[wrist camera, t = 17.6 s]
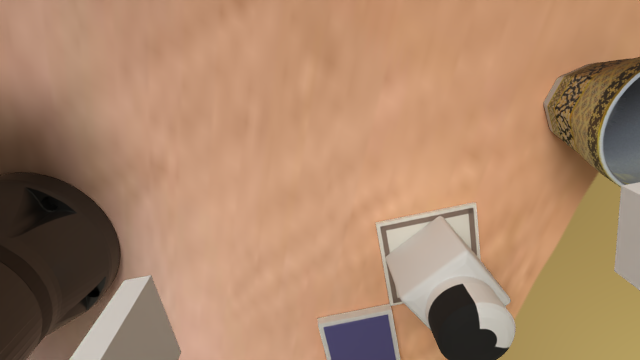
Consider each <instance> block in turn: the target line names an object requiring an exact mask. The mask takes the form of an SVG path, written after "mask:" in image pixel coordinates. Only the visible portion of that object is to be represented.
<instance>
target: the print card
mask: <svg viewBox="0 0 640 360" xmlns="http://www.w3.org/2000/svg"><path fill="white" fill-rule="evenodd" d="M438 216H442V217H443V218H444V219H445V220H446V221H447V222H448V223H449V224H450V226H451V227H452V228H453V229H454V230H455V231H456V233H457V234H458V235H459V236H460V237H461V238H462V239H463V241H464V242H465V243H466V244H467V245H468V246H469V248H470V249H471V250H472V251H473V252H474V253H475V254H476V256H477V257H478V258H479V259H480V246H479V233H478V220H477V207H476V203H475V202H472V203H467V204H463V205H458V206H453V207H448V208H443V209H438V210H434V211H429V212H424V213H419V214H414V215H409V216H404V217H400V218H395V219H390V220H385V221H380V222H375V223H376V229H377V234H378V240H379V246H380V251H381V257H382V263H383V268H384V274H385V280H386V285H387V291H388V297H389V302H390V306H393V305H398V304H403V302H402V301H401V299H400V297H399V294H398V291H397V289H396V286H395V283H394V280H393V278H392V275H391V272H390V270H389V267H388V264H387V262H386V256H387V255H389V254H390V253H391V252H392V251H394V250H395V249H396V248H398V247H399V246H400V245H402V244H403V243H404V242H406V241H407V240H408V239H409V238H411V237H412V236H413V235H415V234H416V233H417V232H419V231H420V230H421V229H423V228H424V227H425V226H426V225H428V224H429V223H430V222H432V221H433V220H434V219H436V218H437V217H438ZM480 260H481V259H480Z"/></svg>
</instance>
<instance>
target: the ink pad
mask: <svg viewBox="0 0 640 360" xmlns="http://www.w3.org/2000/svg"><path fill="white" fill-rule="evenodd" d="M317 319H318V327H319V331H320V335H321V339H322V342H323V346H324V350H325V354H326V358H327V360H400V354H399V348H398V343H397V337H396V331H395V326H394V320H393V314H392V309H391V306H390V304H386V305H381V306H376V307H371V308H366V309H361V310H356V311H351V312H346V313H341V314H336V315H331V316H326V317H321V318H317Z"/></svg>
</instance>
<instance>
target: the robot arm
mask: <svg viewBox="0 0 640 360" xmlns="http://www.w3.org/2000/svg"><path fill="white" fill-rule="evenodd" d="M119 261H120V250H119V244H118V239H117V236H116V233H115V231H114V229H113V227H112V225H111V223H110V221H109V219H108V218H107V216H106V215H105V214H104V212H103V211H102V210H101V209H100V208H99V207H98V206H97V205H96V204H95V203H94V202H93V201H92V200H91V199H90V198H89V197H88V196H86V195H85V194H84V193H82V192H81V191H79V190H78V189H76V188H74V187H73V186H71V185H69V184H67V183H65V182H62V181H60V180H57V179H55V178H52V177H48V176H44V175H40V174H33V173H9V174H3V175H0V360H26V359H27V358H28V356H29V355H30V354H31V353H32V351H33V350H34V349H35V347H36V346H37V345H38V344H39V343H40V341H41V340H42V339H43V338H44V337H45V336H46V335H48V334H50V333H51V332H53V331H55V330H56V329H58V328H60V327H61V326H63V325H65V324H66V323H68V322H70V321H71V320H73V319H75V318H76V317H78V316H80V315H81V314H83V313H84V312H86V311H87V310H89V309H90V308H91V307H92V306H93V305H95V304H96V303H97V302H98V301H99V299H100V298H101V297H102V296H103V294H104V293H105V292H106V290H107V289H108V288H109V286H110V285H111V283H112V282H113V280H114V278H115V276H116V274H117V271H118V267H119ZM614 271H615V272H616V273H618V274H619V275H621V276H622V277H623V278H624V279H626V280H627V281H628V282H629V283H631V284H632V285H633V286H635V287H636V288H637V289H639V290H640V182H638V183H633V184H628V185H622V186H621V197H620V209H619V221H618V233H617V245H616V258H615V270H614ZM180 354H181V350H180V347H179V345H178V342H177V340H176V337H175V335H174V332H173V330H172V327H171V324H170V322H169V319H168V317H167V314H166V312H165V309H164V307H163V304H162V302H161V299H160V297H159V294H158V291H157V289H156V286H155V284H154V281H153V279H152V276H151V275H149V276H144V277H139V278H134V279H128V280H124V281H123V283H122V284H121V286H120V287H119V289H118V290H117V292H116V293H115V294H114V296H113V297H112V299H111V300H110V302H109V303H108V305H107V306H106V307H105V309H104V310H103V312H102V313H101V315H100V316H99V317H98V319H97V320H96V322H95V323H94V325H93V326H92V328H91V329H90V330H89V332H88V333H87V335H86V336H85V338H84V339H83V341H82V342H81V343H80V345H79V346H78V348H77V349H76V351H75V352H74V354H73V355H72V356H71V358H70V359H69V360H178V359H179V356H180Z"/></svg>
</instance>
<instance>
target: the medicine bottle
mask: <svg viewBox="0 0 640 360" xmlns="http://www.w3.org/2000/svg"><path fill="white" fill-rule="evenodd" d="M386 262H387V264H388V267H389V270H390V272H391V275H392V278H393V280H394V283H395V286H396V289H397V291H398V294H399V297H400V299H401V301H402V302H403V303H404V304H405V305H406V306H407V307H408V308H409V309H410V310H411V311H412V312H413V313H414V314H415V315H416V316H417V317H418V318H419V319H420V320H421V321H422V322H423V323H424V324H425V325H426V326H427V327H428V328H429V329H430V330H431V331H432V333H433V335H434V338H435V340H436V342H437V345H438V347H439V349H440V351H441V353H442V354H443V355H444V356H445V357H446V358H447V359H448V360H496V359H498V358H499V357H501V356H502V355H503V354H504V353H505V352H506V351H507V350H508V349H509V347H510V346H511V344H512V341H513V339H514V336H515V322H514V319H513V317H512V315H511V314H510V313H509V311H508V310H507V309H506V307H505V306H506V305H508V304H509V303H510V301H511V300H510V298H509V296H508V295H507V294H506V292H505V291H504V290H503V289H502V287H501V286H500V285H499V283H498V282H497V281H496V280H495V278H494V277H493V276H492V274H491V273H490V272H489V271H488V269H487V268H486V267H485V265H484V264H483V263H482V262H481V260H480V259H479V258H478V257H477V256H476V254H475V253H474V252H473V251H472V250H471V249H470V248H469V246H468V245H467V244H466V243H465V242H464V241H463V239H462V238H461V237H460V236H459V235H458V234H457V233H456V231H455V230H454V229H453V228H452V227H451V226H450V224H449V223H448V222H447V221H446V220H445V219H444V218H443V217H442V216H438V217H437V218H436V219H434V220H433V221H432V222H430V223H429V224H428V225H426V226H425V227H424V228H423V229H421V230H420V231H419V232H417V233H416V234H415V235H413V236H412V237H411V238H409V239H408V240H407V241H406V242H404V243H403V244H402V245H400V246H399V247H398V248H396V249H395V250H394V251H392V252H391V253H390V254H389V255H387V256H386Z"/></svg>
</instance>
